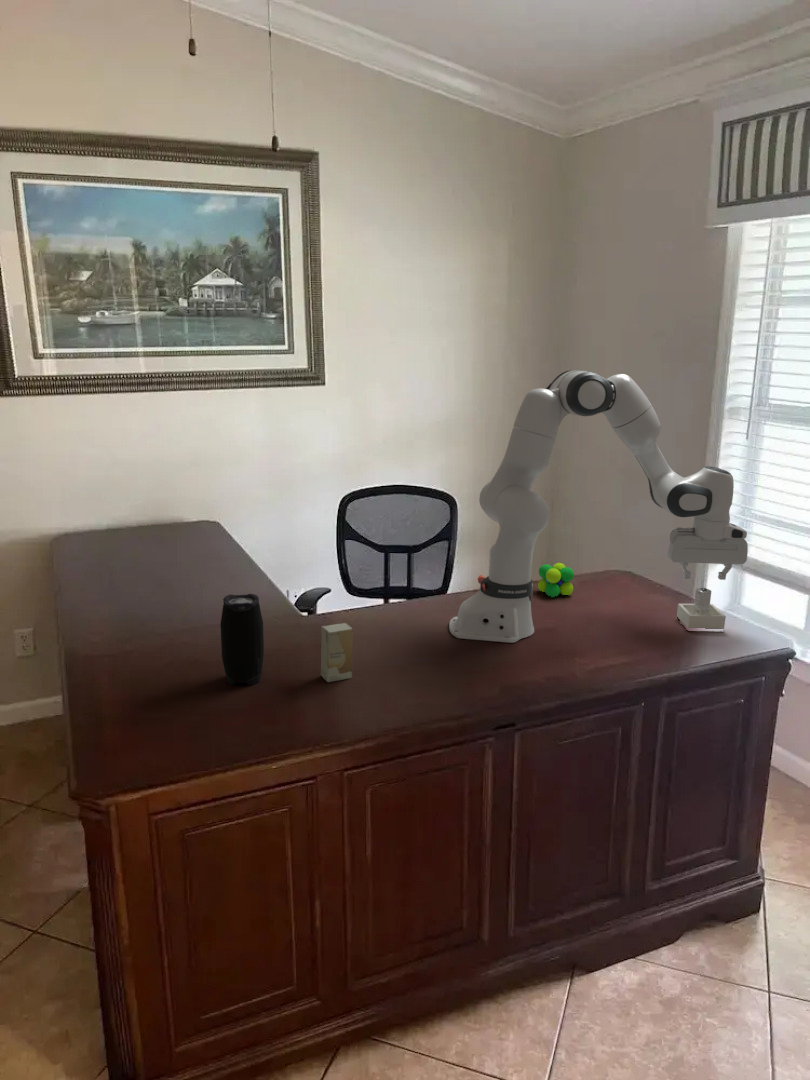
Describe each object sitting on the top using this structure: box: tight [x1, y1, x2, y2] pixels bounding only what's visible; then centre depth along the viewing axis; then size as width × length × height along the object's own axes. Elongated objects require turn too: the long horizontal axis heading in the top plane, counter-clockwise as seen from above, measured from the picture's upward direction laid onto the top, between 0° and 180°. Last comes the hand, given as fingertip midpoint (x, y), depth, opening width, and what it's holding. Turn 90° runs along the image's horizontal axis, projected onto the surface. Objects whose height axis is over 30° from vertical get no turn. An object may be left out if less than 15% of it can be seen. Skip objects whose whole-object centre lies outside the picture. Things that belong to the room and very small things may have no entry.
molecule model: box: [537, 562, 575, 598], centre depth 257 cm, size 9×9×9 cm
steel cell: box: [693, 587, 712, 615], centre depth 233 cm, size 4×4×10 cm
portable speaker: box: [220, 593, 265, 686], centre depth 193 cm, size 9×9×20 cm
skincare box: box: [320, 622, 354, 683], centre depth 197 cm, size 6×4×12 cm
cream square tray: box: [676, 603, 726, 630], centre depth 233 cm, size 10×10×4 cm
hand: (704, 578), depth 230 cm, fingers open, 8 cm apart
